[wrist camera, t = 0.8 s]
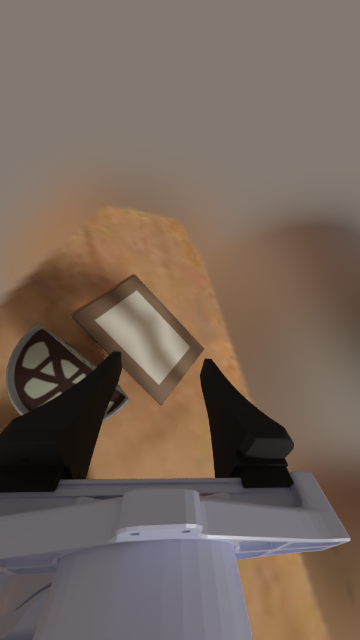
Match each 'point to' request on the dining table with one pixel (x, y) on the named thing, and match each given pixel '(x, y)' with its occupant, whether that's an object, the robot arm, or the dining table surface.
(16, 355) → the food container
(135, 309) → the brown picture frame
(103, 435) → the dining table surface
